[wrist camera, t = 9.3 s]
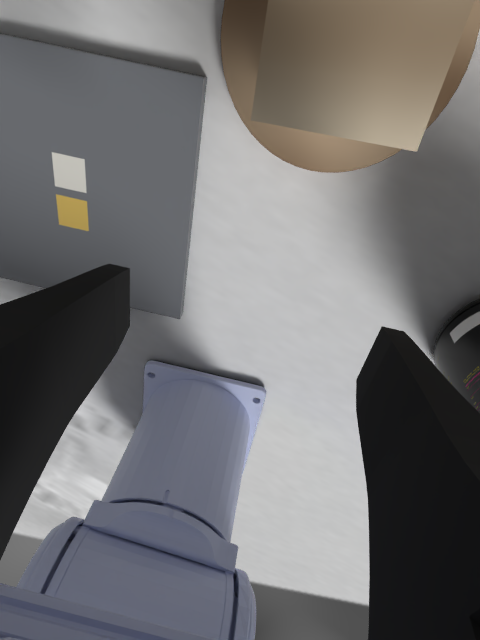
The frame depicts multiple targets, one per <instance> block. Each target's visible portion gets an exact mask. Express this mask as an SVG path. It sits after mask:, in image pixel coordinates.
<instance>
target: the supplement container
mask: <svg viewBox="0 0 480 640" xmlns="http://www.w3.org/2000/svg"><path fill="white" fill-rule="evenodd" d="M434 362H435V365H436V367H437V369H438V370H439V371H440V372H441V373H442V374H443V375H444V376H445V378H446V379H447V380H448V381H449V382H450V383H451V384H452V385H453V386H454V387H455V388H456V389H457V391H458V392H459V393H460V394H461V395H462V396H463V397H464V398H465V399H466V400H467V401H468V402H469V403H470V404H471V405H472V406H473V407H474V408H475V409H476V410H477V411H478V412H479V413H480V299H478V300H476V301H474V302H472V303H470V304H468V305H466V306H465V307H463V308H462V309H460V310H459V311H458V312H456V313H455V314H454V315H453V316H452V317H451V318H450V319H449V320H448V321H447V322H446V323H445V325H444V326H443V327H442V329H441V331H440V332H439V334H438V337H437V339H436V343H435V347H434Z"/></svg>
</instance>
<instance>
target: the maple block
mask: <svg viewBox="0 0 480 640" xmlns="http://www.w3.org/2000/svg"><path fill="white" fill-rule="evenodd" d="M474 2H475V0H268V5H267V12H266V19H265V26H264V33H263V40H262V46H261V53H260V60H259V67H258V74H257V81H256V87H255V94H254V101H253V108H252V115H251V120H252V121H257V122H262V123H267V124H273V125H278V126H283V127H288V128H294V129H299V130H304V131H309V132H315V133H320V134H325V135H331V136H336V137H341V138H346V139H352V140H357V141H362V142H367V143H373V144H378V145H383V146H389V147H394V148H399V149H404V150H410V151H415V152H417V150H418V147H419V145H420V142H421V139H422V137H423V134H424V132H425V129H426V126H427V124H428V121H429V119H430V116H431V113H432V111H433V108H434V106H435V103H436V101H437V98H438V95H439V93H440V90H441V88H442V85H443V82H444V80H445V77H446V75H447V72H448V69H449V67H450V64H451V62H452V59H453V56H454V54H455V51H456V49H457V46H458V43H459V41H460V38H461V36H462V33H463V30H464V28H465V25H466V23H467V20H468V17H469V15H470V12H471V10H472V7H473V4H474Z"/></svg>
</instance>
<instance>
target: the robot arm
mask: <svg viewBox="0 0 480 640" xmlns="http://www.w3.org/2000/svg"><path fill="white" fill-rule="evenodd" d="M129 326H130V268H127V267H122V266H118V265H114V264H106V265H103V266H100V267H98V268H95V269H92V270H90V271H88V272H85V273H83V274H80V275H78V276H76V277H73V278H71V279H68V280H66V281H63V282H61V283H58V284H56V285H54V286H51V287H49V288H46V289H43V290H41V291H38V292H35V293H32V294H30V295H27V296H24V297H21V298H18V299H16V300H13V301H10V302H7V303H4V304H1V305H0V560H1V557H2V555H3V553H4V551H5V548H6V546H7V544H8V542H9V540H10V537H11V535H12V533H13V531H14V529H15V527H16V524H17V522H18V520H19V518H20V516H21V514H22V512H23V510H24V508H25V506H26V504H27V502H28V500H29V497H30V495H31V493H32V491H33V489H34V487H35V485H36V483H37V481H38V479H39V478H40V476H41V474H42V472H43V470H44V468H45V466H46V464H47V462H48V460H49V458H50V456H51V454H52V452H53V451H54V449H55V447H56V445H57V443H58V441H59V440H60V438H61V436H62V434H63V432H64V430H65V429H66V427H67V425H68V424H69V422H70V420H71V419H72V417H73V416H74V414H75V412H76V411H77V410H78V408H79V407H80V405H81V404H82V402H83V401H84V399H85V398H86V397H87V395H88V394H89V392H90V391H91V389H92V388H93V387H94V385H95V384H96V382H97V381H98V379H99V378H100V376H101V375H102V374H103V372H104V371H105V369H106V368H107V366H108V365H109V363H110V362H111V360H112V359H113V357H114V356H115V354H116V353H117V351H118V349H119V347H120V345H121V343H122V341H123V339H124V337H125V335H126V333H127V331H128V328H129ZM150 372H152V373H154V374H151V373H150ZM265 397H266V390H265V388H263V387H261V386H258V385H254V384H250V383H246V382H241V381H237V380H233V379H229V378H225V377H220V376H216V375H212V374H208V373H204V372H199V371H195V370H191V369H187V368H183V367H178V366H174V365H170V364H166V363H162V362H157V361H152V360H151V361H148V362H147V363H146V365H145V367H144V392H143V414H142V417H141V419H140V421H139V423H138V425H137V427H136V429H135V431H134V433H133V435H132V438H131V440H130V442H129V444H128V446H127V448H126V450H125V452H124V454H123V456H122V459H121V461H120V463H119V465H118V467H117V469H116V471H115V473H114V475H113V477H112V480H111V482H110V484H109V486H108V488H107V490H106V492H105V494H104V496H103V498H102V501H99V500H94V502H93V504H92V506H91V508H90V510H89V512H88V514H87V516H86V518H85V520H83V519H80V518H77V517H71V518H69V519H67V520H66V521H65V522H64V523H62V524H60V525H58V526H56V527H55V528H54V529H52V530H51V531H50V533H49V534H48V535H47V536H46V538H45V539H44V540H43V542H42V543H41V545H40V546H39V548H38V550H37V551H36V553H35V554H34V556H33V557H32V559H31V561H30V563H29V565H28V566H27V568H26V570H25V572H24V573H23V575H22V577H21V579H20V581H19V583H18V585H17V587H13V586H9V585H6V584H2V583H0V640H255V628H256V600H255V595H254V591H253V589H252V587H251V585H250V582H249V578H248V576H247V574H246V572H244V571H242V570H239V569H236V568H235V564H236V558H237V551H238V546H237V545H235V544H232V543H230V541H231V535H232V529H233V523H234V518H235V512H236V506H237V500H238V494H239V489H240V483H241V477H242V474H243V471H244V467H245V464H246V461H247V457H248V454H249V451H250V447H251V444H252V441H253V437H254V434H255V431H256V427H257V424H258V421H259V417H260V414H261V411H262V407H263V404H264V401H265ZM255 398H259V399H255ZM356 411H357V419H358V427H359V434H360V441H361V448H362V455H363V462H364V469H365V476H366V483H367V493H368V510H369V553H370V589H369V634H368V635H369V636H368V640H480V413H479V412H478V411H477V410H476V409H475V408H474V407H473V406H472V405H471V404H470V403H469V402H468V401H467V400H466V399H465V398H464V397H463V396H462V395H461V394H460V393H459V392H458V391H457V389H456V388H455V387H454V386H453V385H452V384H451V383H450V382H449V381H448V380H447V379H446V378H445V376H444V375H443V374H442V373H441V372H440V371H439V370H438V369H437V367H436V366H435V365H434V364H433V363H432V362H431V361H430V359H429V358H428V357H427V356H426V355H425V354H424V353H423V351H422V350H421V349H420V348H419V347H418V346H417V345H416V344H415V342H414V341H413V340H412V339H411V338H410V337H409V336H408V335H407V334H406V333H405V332H404V331H399V330H395V329H391V328H386V327H381V330H380V332H379V334H378V336H377V338H376V340H375V342H374V344H373V346H372V348H371V351H370V353H369V355H368V357H367V359H366V361H365V363H364V365H363V367H362V369H361V371H360V374H359V376H358V378H357V387H356Z"/></svg>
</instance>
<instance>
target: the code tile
mask: <svg viewBox="0 0 480 640" xmlns="http://www.w3.org/2000/svg"><path fill="white" fill-rule="evenodd" d="M206 82H207V77H203V76H199V75H194V74H189V73H185V72H180V71H175V70H171V69H166V68H161V67H157V66H152V65H147V64H143V63H138V62H133V61H129V60H124V59H119V58H115V57H110V56H105V55H100V54H96V53H91V52H86V51H82V50H77V49H72V48H68V47H63V46H58V45H54V44H49V43H44V42H40V41H35V40H30V39H26V38H21V37H16V36H12V35H7V34H2V33H0V277H2V278H6V279H11V280H15V281H19V282H23V283H28V284H32V285H36V286H40V287H45V288H49V287H51V286H54V285H56V284H58V283H61V282H63V281H66V280H68V279H71V278H73V277H76V276H78V275H80V274H83V273H85V272H88V271H90V270H92V269H95V268H98V267H100V266H103V265H106V264H114V265H118V266H122V267H127V268H130V308H134V309H139V310H143V311H147V312H151V313H156V314H160V315H164V316H169V317H173V318H177V319H180V318H181V316H182V314H183V306H184V296H185V286H186V276H187V267H188V257H189V247H190V238H191V228H192V218H193V208H194V199H195V189H196V179H197V170H198V160H199V150H200V140H201V131H202V121H203V111H204V102H205V92H206Z"/></svg>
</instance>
